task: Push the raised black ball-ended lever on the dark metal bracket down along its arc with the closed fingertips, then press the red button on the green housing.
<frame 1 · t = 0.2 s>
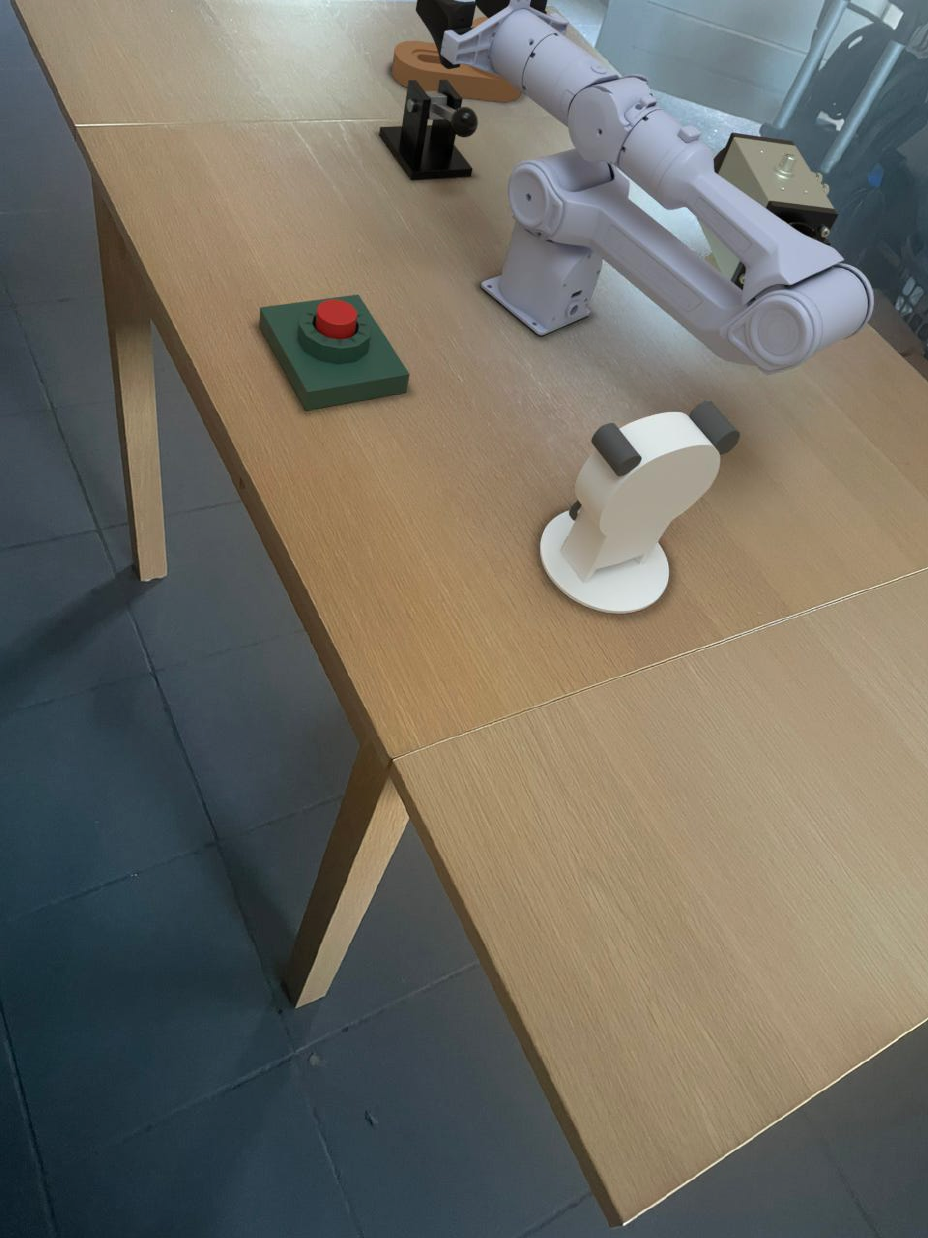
lever: (448, 113, 105), point 7 cm above the table, hinge at 15.0°
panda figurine: (606, 560, 79), on the table
ball valve: (722, 309, 105), on the table
button box: (332, 359, 87), on the table
bracket 2: (456, 83, 125), on the table
button: (336, 319, 83), point 4 cm above the table, slide at 0.1 cm
bracket: (424, 155, 112), on the table
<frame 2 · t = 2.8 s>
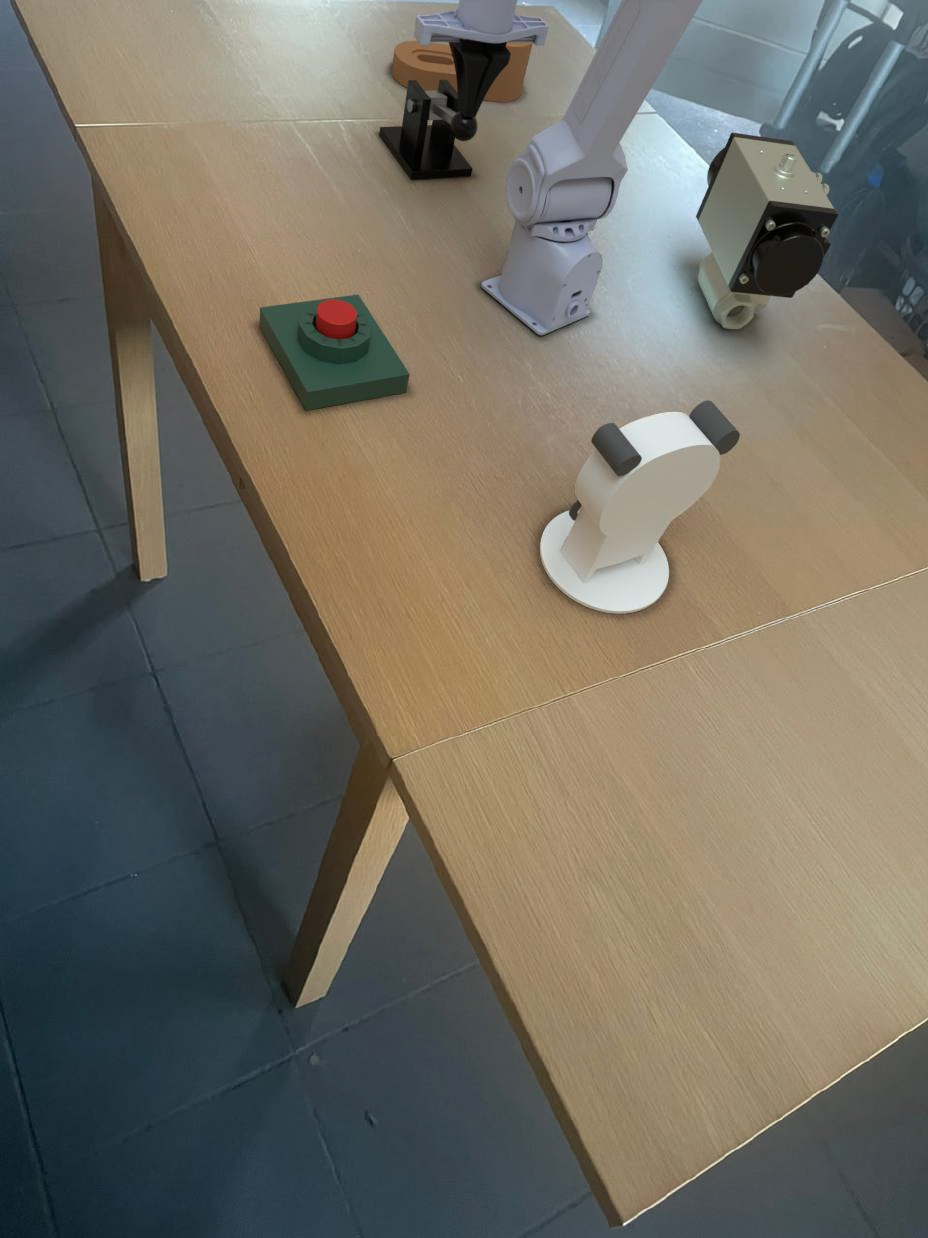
hand: (466, 112, 101), 9 cm above the table, tool pointing down, fingers closed, pressing on lever
lever: (448, 115, 105), point 7 cm above the table, hinge at 12.3°, touching gripper
everything else where it was.
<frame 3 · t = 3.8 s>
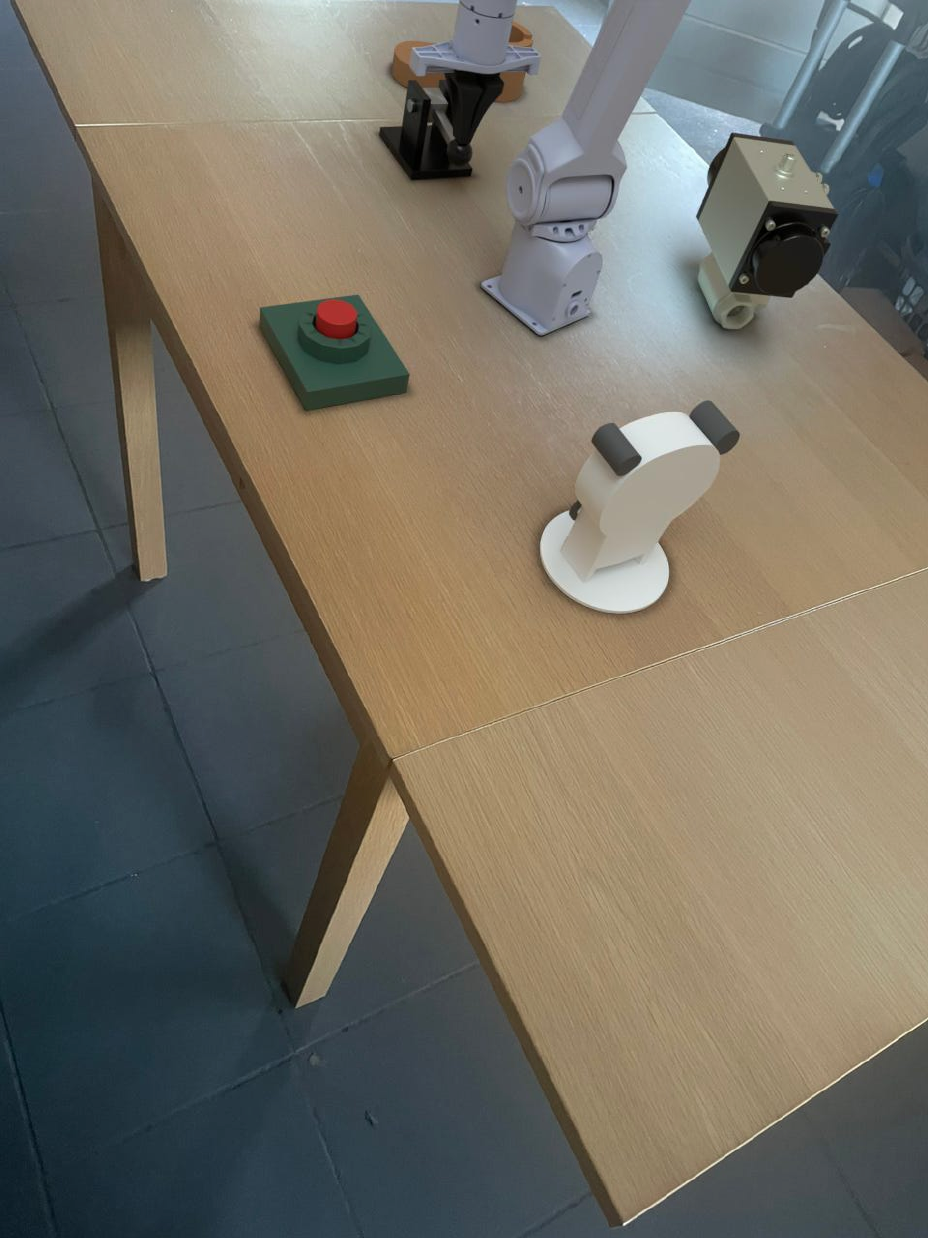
hand: (461, 138, 103), 6 cm above the table, tool pointing down, fingers closed, pressing on lever
lever: (446, 128, 106), point 5 cm above the table, hinge at -9.1°, touching gripper
everything else where it was.
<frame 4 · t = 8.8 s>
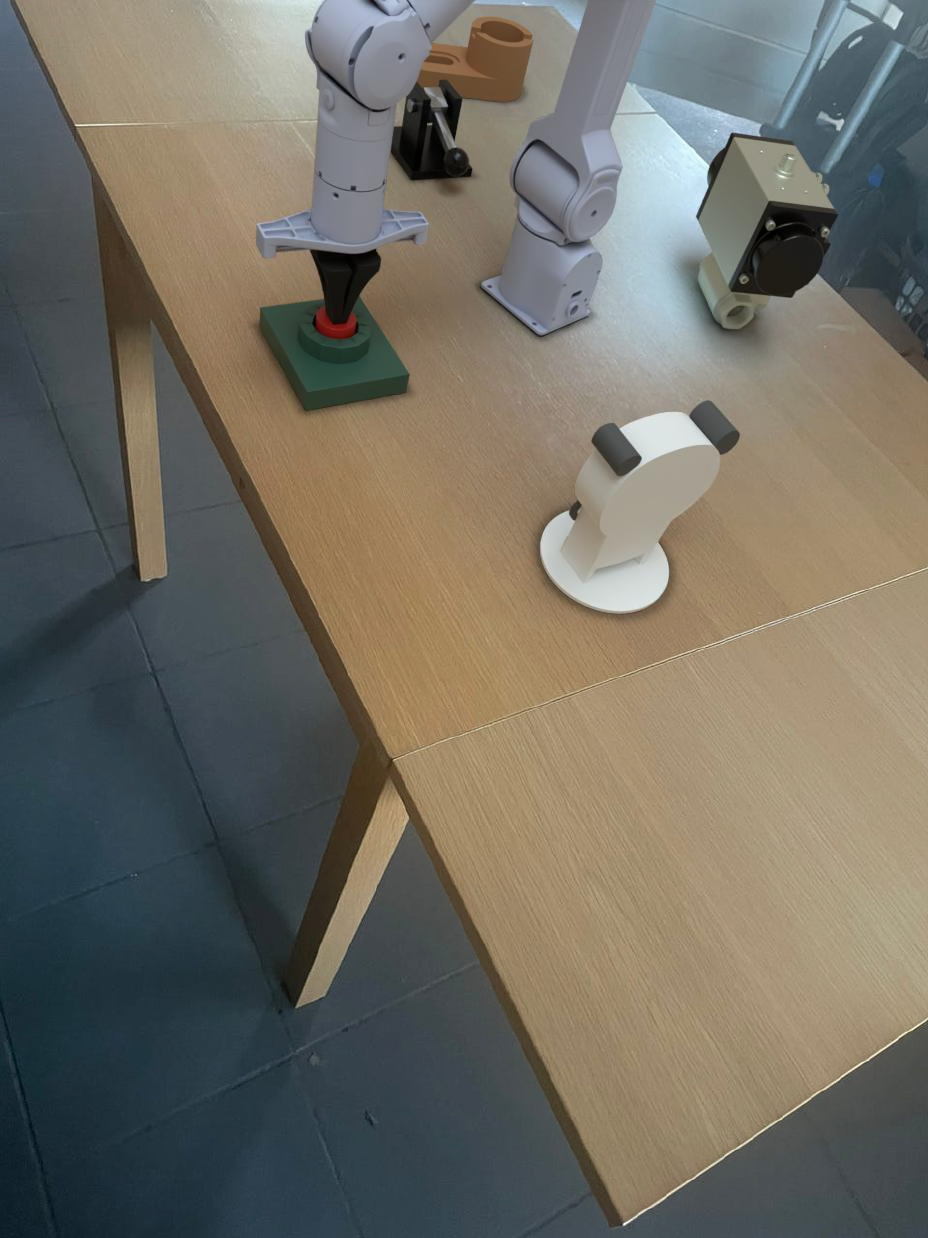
hand: (336, 317, 83), 5 cm above the table, tool pointing down, fingers closed, pressing on button
lever: (444, 133, 106), point 5 cm above the table, hinge at -18.6°
button: (335, 324, 84), point 4 cm above the table, slide at -0.5 cm, touching gripper
everything else where it was.
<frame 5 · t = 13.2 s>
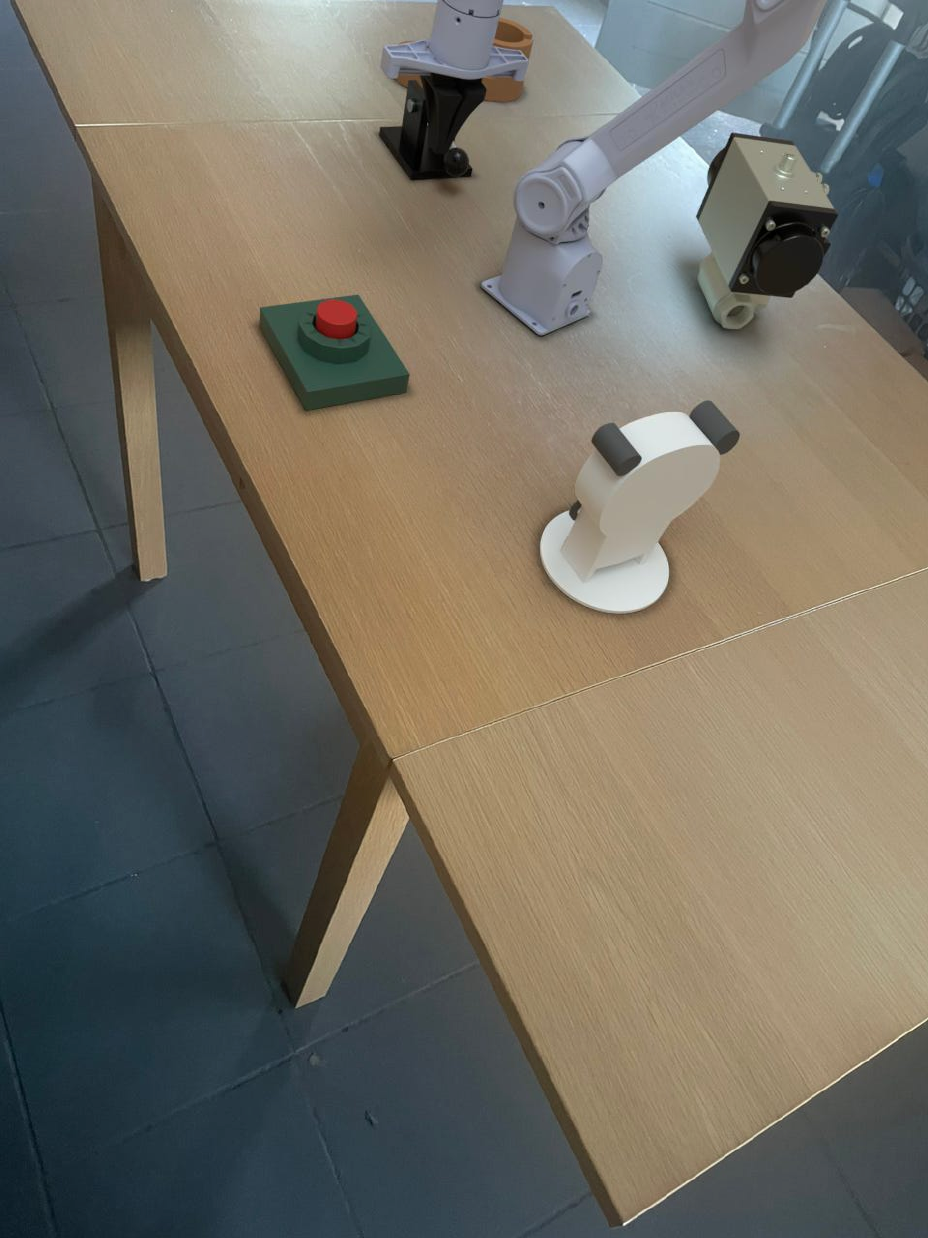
hand: (437, 148, 93), 10 cm above the table, tool pointing down, fingers closed
button: (336, 319, 83), point 4 cm above the table, slide at 0.1 cm
everything else where it was.
at the end: lever at -19° (first picture: +15°); button pushed in 1.2 cm at the most during the clip, back to where it started at the end; button slide at 0.1 cm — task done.
